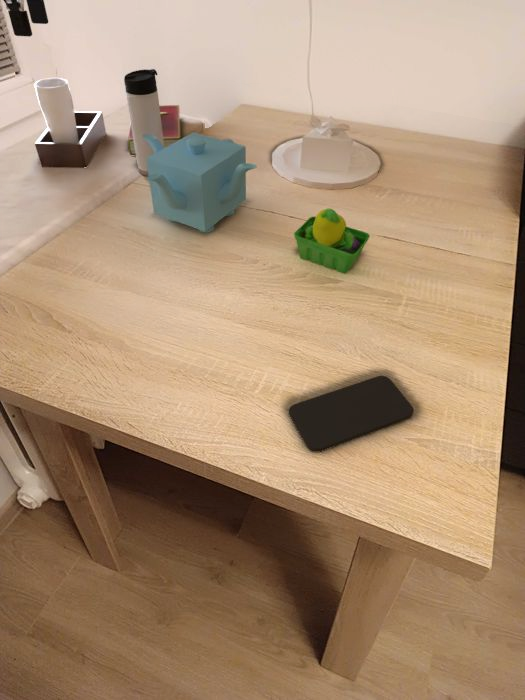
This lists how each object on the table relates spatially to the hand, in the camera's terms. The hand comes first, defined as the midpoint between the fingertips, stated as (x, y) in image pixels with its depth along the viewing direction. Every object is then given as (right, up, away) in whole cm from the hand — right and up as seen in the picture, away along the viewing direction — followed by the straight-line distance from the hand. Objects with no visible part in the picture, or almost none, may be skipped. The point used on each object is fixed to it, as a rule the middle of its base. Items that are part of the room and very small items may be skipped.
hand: (32, 29), depth 97 cm
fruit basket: (+56, -47, -9) cm, 74 cm away
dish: (+59, -19, +19) cm, 65 cm away
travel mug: (+20, -22, +15) cm, 34 cm away
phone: (+56, -71, -33) cm, 96 cm away
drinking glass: (0, -17, +18) cm, 25 cm away
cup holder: (0, -15, +22) cm, 26 cm away
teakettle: (+32, -37, +1) cm, 49 cm away
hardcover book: (+18, -9, +28) cm, 35 cm away
